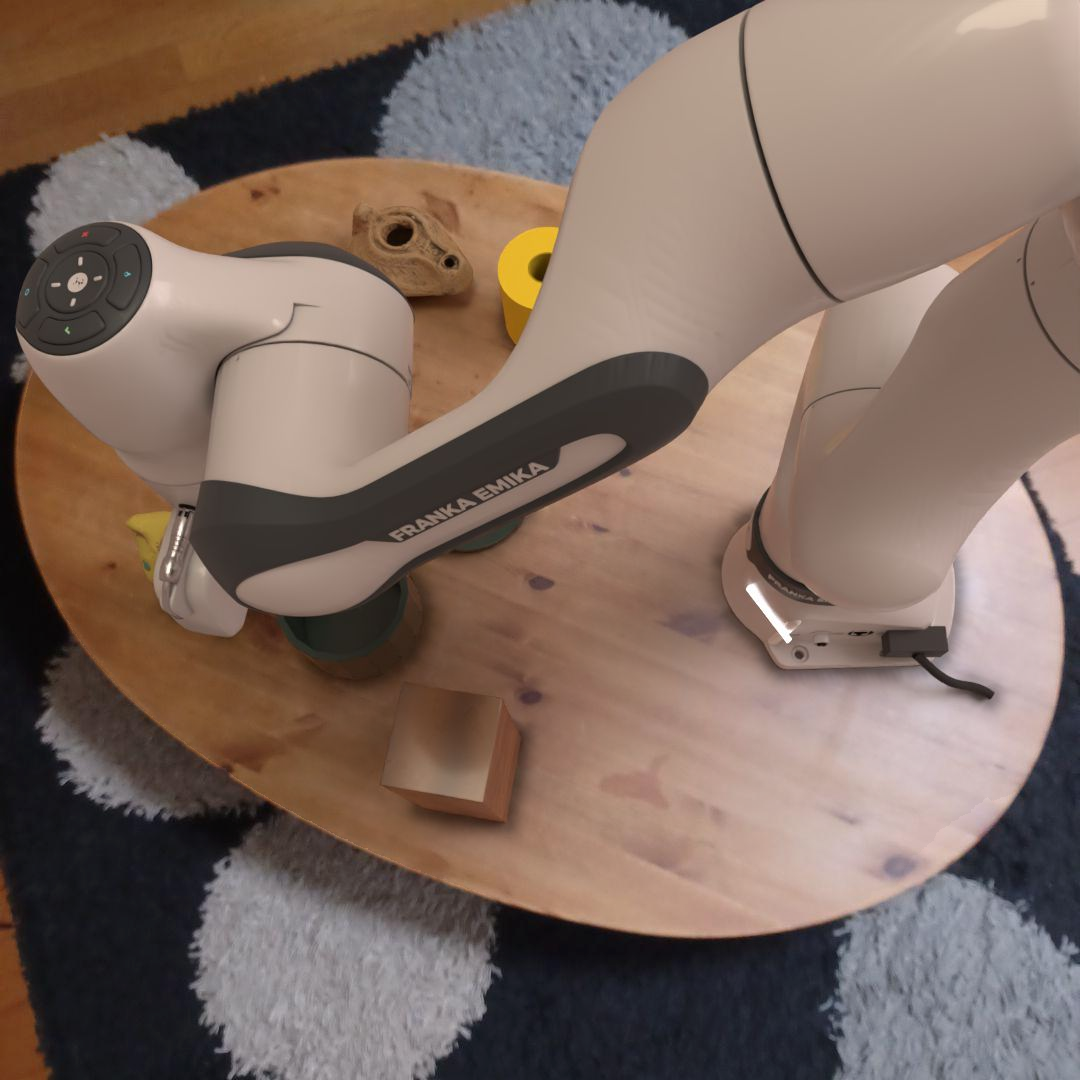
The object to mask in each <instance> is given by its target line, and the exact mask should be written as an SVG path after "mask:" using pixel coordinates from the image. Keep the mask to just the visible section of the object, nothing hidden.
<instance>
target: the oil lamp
mask: <svg viewBox="0 0 1080 1080" xmlns="http://www.w3.org/2000/svg"><path fill="white" fill-rule="evenodd" d="M351 227H352V229H351V244H350V251H349V253H351V254H353V255H355V256H357V257H359V258H361V259H362V260H364V261H366V262H368V263H369V264H371V265H372V266H374V267H375V268H377V269H378V270H379V271H381V272H382V273H383V274H385V275H386V276H387V277H388V278H389V279H390V280H391V281H392V282H393V283H394V284H395V285H396V286H397V287H398V288H399V289H400V290H401V291H402V293H403V294H404V295H405V297H426V296H427V297H428V296H429V297H430V296H451V295H452V296H454V295H459V294H461V293H463V292H465V291H466V290H467V289H468V288H469V286H471V285H472V282H473V278H474V269H473V266H472V265H471V262H470V261H469V260H468V258H467V257H466V256H465V255H464V253H463V251H462V250H461V248H460V247H459V245H457V243H456V242H455V241H454V239H453V238H452V236H451V235H450V234H449V232H448V230H447V229H446V228H445V227H444V226H443V224H442V223H441V222H440V220H439V221H438V220H437V219H436V218H435V217H434V216H432V215H430V214H429V213H427V212H426V211H424V210H421V209H419V208H416V207H413V206H407V205H405V206H404V205H396V206H389V207H385V208H382V209H380V210H376V209H375V208H374V207H373V206H372V205H371V204H370V203H368V202H365V201H361V202H360V203H358V204H357V205H356V206H355V208H354V210H353V212H352V225H351Z"/></svg>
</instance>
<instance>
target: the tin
mask: <svg viewBox="0 0 1080 1080" xmlns="http://www.w3.org/2000/svg"><path fill="white" fill-rule="evenodd" d="M420 597H421V596H420V592H419V590H418V588H417V587H416V585H415V583H414V582H413V580H412V578H411V576H410V575H409V574H408V575H406V576H405V577H404V578H402V579H401V580H400V581H398V582H397V583H395V584H394V585H393V586H391V587H390V588H389V589H388V590H386V591H385V592H383V593H382V594H380V595H379V596H377V597H376V598H374V599H373V600H371V601H369V602H368V603H366V604H364V605H362V606H359V607H357V608H354V609H351V610H348V611H345V612H340V613H336V614H330V615H322V616H308V617H293V616H279V615H275V617H276V622H277V625H278V626H279V628H280V630H281V631H282V632H283V634H284V636H285V637H286V639H287V640H288V642H289V644H290V645H291V646H293V647H294V648H295V649H296V650H298V651H299V652H300V653H301V654H302V655H303V656H305V657H306V658H307V659H308V660H310V662H312V663H313V664H314V665H315V666H317V667H319V668H320V669H322V670H323V671H325V672H327V673H328V674H330V675H331V676H333V677H338V678H341V679H344V680H352V681H359V680H360V681H361V680H362V681H363V680H370V679H374V678H377V677H380V676H381V675H382V676H383V675H385V674H387V673H388V672H390V671H392V670H394V669H395V668H396V667H398V666H399V665H400V664H402V663H403V661H405V659H406V658H407V657H408V656H409V655H410V653H411V652H412V651H413V649H414V647H415V645H416V644H417V641H418V640H419V637H420V634H421V631H422V625H423V617H424V614H423V606H422V601H421V598H420Z"/></svg>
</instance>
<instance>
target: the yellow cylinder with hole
mask: <svg viewBox="0 0 1080 1080" xmlns="http://www.w3.org/2000/svg"><path fill="white" fill-rule="evenodd" d="M558 230H559V227H557V226H556V227H555V226H541V227H535V228H531V229H528V230H526V231H524V232H522V233H520V234H518V235H517V236H515V237H514V238H513V239H511V240H510V241H509V242H508V243H507V244H506V246H505V247H504V249H503V250H502V252H501V254H500V256H499V258H498V262H497V277H498V278H497V279H498V283H499V291H500V296H501V302H502V307H503V308H502V309H503V316H504V321H505V322H504V323H505V328H506V331H507V333H508V336H509V338H510V339H511V341H512V342H513V343H514V344H515V345H516V344H517V342H518V340H519V338H520V336H521V334H522V332H523V330H524V328H525V326H526V323H527V321H528V319H529V316H530V314H531V311H532V309H533V306H534V304H535V301H536V298H537V296H538V293H539V290H540V288H541V285H542V282H543V279H544V276H545V273H546V270H547V267H548V265H549V261H550V258H551V254H552V251H553V248H554V244H555V241H556V237H557V234H558Z"/></svg>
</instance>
